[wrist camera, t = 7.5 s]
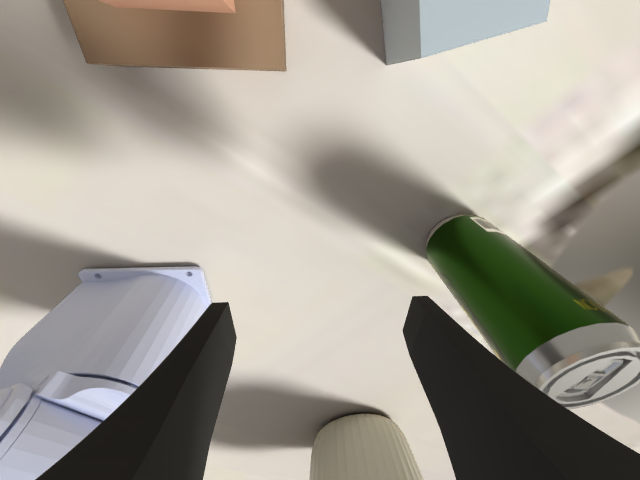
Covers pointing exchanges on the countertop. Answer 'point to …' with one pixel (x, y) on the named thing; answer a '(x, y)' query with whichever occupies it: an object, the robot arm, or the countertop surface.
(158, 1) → the terracotta cube
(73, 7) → the walnut slab
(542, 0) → the slate cube
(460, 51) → the countertop surface
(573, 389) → the beer can
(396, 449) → the canister
